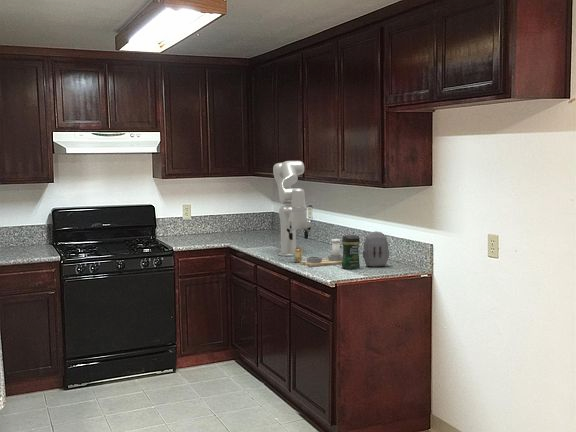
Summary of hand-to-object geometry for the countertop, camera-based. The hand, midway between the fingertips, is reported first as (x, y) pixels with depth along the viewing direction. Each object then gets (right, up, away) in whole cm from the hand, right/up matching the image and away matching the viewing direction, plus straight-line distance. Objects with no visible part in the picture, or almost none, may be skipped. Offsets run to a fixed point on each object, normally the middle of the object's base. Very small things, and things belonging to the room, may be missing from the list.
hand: (298, 239), depth 380 cm
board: (+14, -14, -4) cm, 21 cm away
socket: (+9, -13, -6) cm, 17 cm away
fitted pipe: (+22, -12, -1) cm, 25 cm away
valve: (0, -14, +2) cm, 14 cm away
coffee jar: (+29, -16, -19) cm, 38 cm away
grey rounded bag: (+43, -15, -15) cm, 49 cm away
